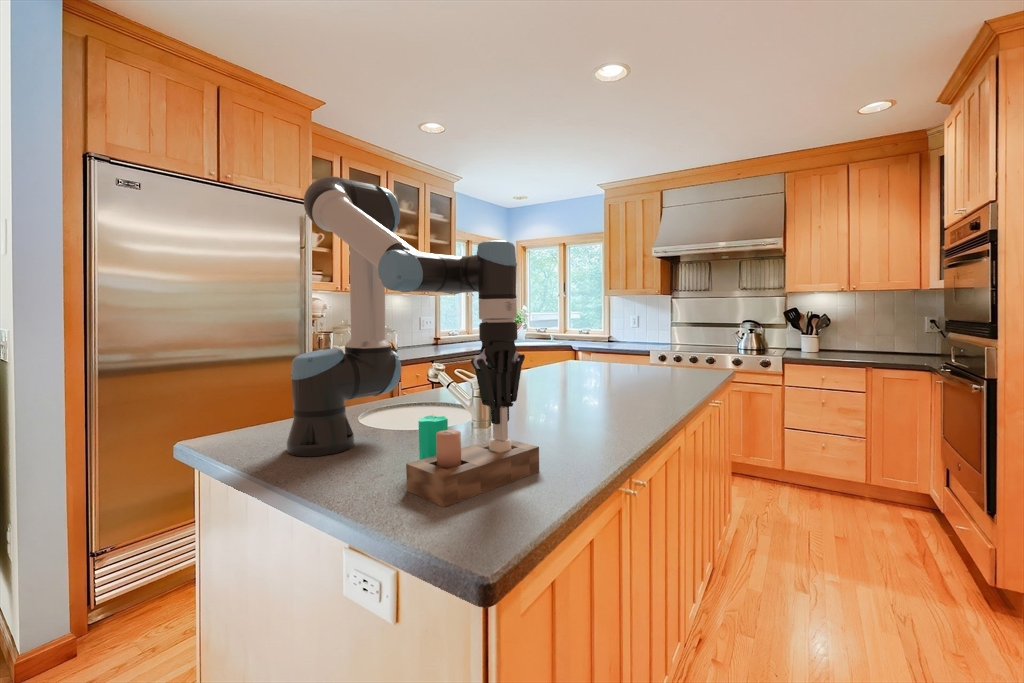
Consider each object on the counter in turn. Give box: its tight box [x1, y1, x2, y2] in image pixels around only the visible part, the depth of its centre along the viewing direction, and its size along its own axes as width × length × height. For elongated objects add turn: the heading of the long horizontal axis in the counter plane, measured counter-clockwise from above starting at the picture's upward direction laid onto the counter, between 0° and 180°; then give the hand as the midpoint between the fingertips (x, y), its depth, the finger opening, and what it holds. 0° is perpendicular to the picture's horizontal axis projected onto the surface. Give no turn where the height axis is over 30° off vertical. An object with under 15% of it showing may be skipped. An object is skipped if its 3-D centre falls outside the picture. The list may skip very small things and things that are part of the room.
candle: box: [418, 415, 449, 460], centre depth 100 cm, size 6×6×12 cm
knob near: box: [436, 429, 462, 470], centre depth 88 cm, size 4×4×6 cm
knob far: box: [488, 437, 512, 453], centre depth 97 cm, size 4×4×6 cm
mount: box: [405, 439, 540, 508], centre depth 93 cm, size 11×24×5 cm, turn 136°
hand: (500, 438), depth 97 cm, fingers closed
